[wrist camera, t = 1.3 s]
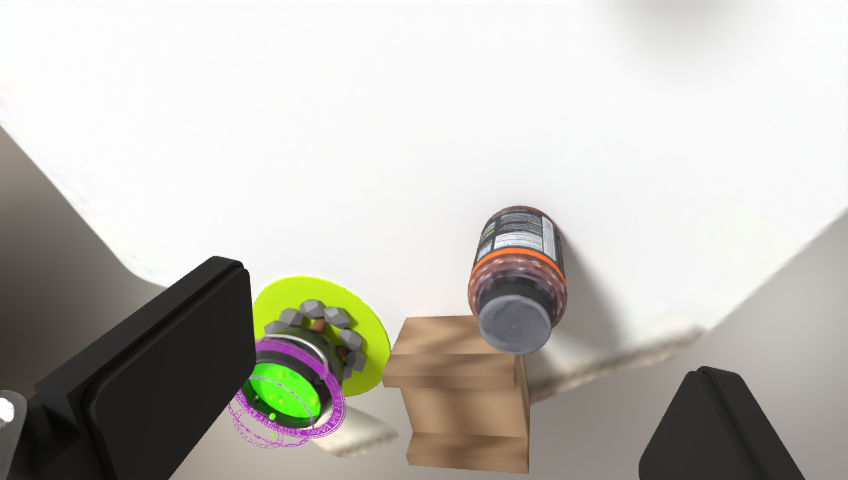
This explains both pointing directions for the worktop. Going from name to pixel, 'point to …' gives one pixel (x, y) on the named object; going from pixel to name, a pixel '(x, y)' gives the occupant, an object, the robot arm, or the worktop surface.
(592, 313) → the worktop surface
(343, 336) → the toy cauldron
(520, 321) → the supplement bottle
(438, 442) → the pedestal
